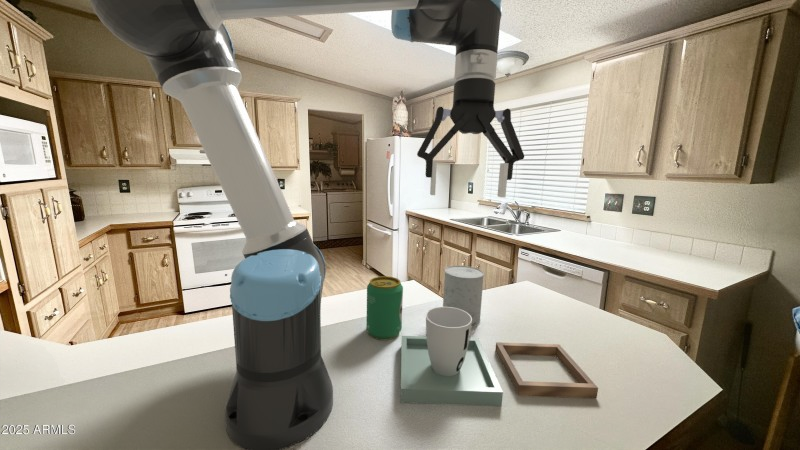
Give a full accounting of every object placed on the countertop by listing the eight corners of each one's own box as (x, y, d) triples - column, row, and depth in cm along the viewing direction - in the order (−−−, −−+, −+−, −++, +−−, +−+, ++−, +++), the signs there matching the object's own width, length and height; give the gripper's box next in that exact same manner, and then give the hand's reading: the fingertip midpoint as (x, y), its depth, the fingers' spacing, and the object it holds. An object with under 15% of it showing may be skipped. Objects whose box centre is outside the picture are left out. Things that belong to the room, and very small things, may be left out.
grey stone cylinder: (484, 328, 74) (488, 278, 72) (444, 326, 74) (447, 277, 72) (475, 310, 84) (478, 266, 81) (439, 309, 84) (442, 265, 82)
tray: (400, 402, 49) (401, 388, 49) (401, 346, 65) (401, 335, 65) (501, 406, 49) (502, 392, 49) (477, 349, 65) (478, 338, 65)
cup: (468, 385, 52) (472, 330, 51) (420, 378, 54) (423, 324, 52) (468, 357, 60) (471, 309, 58) (426, 351, 62) (428, 304, 60)
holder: (518, 395, 52) (519, 385, 51) (495, 351, 65) (496, 342, 64) (596, 398, 52) (598, 387, 51) (558, 353, 64) (559, 344, 64)
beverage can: (404, 339, 68) (406, 287, 66) (367, 341, 67) (368, 288, 65) (398, 322, 76) (400, 275, 74) (365, 323, 74) (366, 275, 72)
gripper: (407, 73, 54) (403, 195, 58) (551, 77, 54) (538, 199, 58) (407, 85, 62) (403, 192, 65) (533, 88, 62) (522, 196, 65)
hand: (466, 196), depth 62 cm, fingers open, 13 cm apart
